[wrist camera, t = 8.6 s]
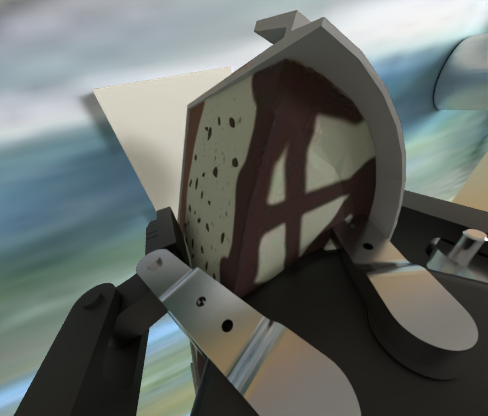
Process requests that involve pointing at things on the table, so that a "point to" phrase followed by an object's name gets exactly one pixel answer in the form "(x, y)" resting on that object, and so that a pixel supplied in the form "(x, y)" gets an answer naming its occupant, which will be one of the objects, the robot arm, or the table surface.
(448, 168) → the table surface
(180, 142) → the board
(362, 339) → the robot arm
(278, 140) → the brown lattice half cylinder
